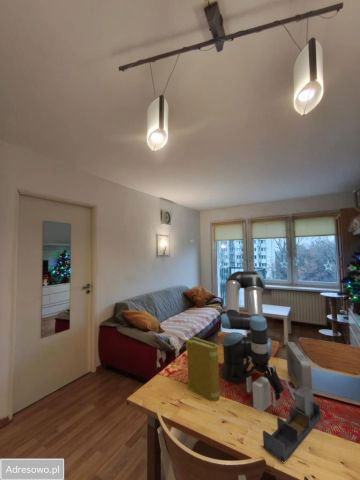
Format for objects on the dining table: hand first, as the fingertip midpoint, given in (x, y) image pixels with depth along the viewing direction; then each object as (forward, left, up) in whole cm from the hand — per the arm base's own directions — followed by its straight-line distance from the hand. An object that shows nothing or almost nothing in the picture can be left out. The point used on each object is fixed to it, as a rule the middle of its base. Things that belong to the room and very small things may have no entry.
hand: (262, 398), depth 99 cm
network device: (+6, +23, -4) cm, 24 cm away
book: (-24, -14, -4) cm, 28 cm away
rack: (+16, -3, -4) cm, 17 cm away
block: (0, 0, -4) cm, 4 cm away
